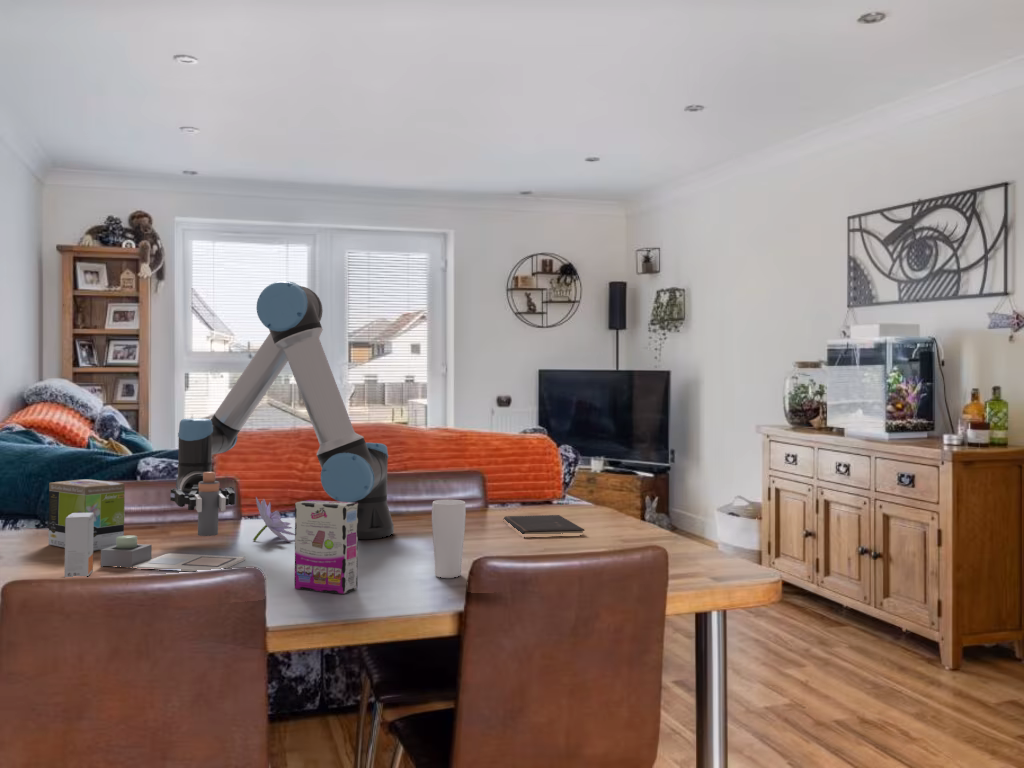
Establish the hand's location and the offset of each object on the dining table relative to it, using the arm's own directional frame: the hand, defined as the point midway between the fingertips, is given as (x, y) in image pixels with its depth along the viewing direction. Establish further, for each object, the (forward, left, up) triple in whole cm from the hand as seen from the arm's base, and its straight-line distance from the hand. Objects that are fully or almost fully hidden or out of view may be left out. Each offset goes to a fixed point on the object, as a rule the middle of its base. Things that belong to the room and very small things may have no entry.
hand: (211, 504), depth 176 cm
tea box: (+40, -17, -14) cm, 45 cm away
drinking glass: (-48, -5, -14) cm, 50 cm away
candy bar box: (-28, +10, -14) cm, 33 cm away
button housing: (+20, -1, -13) cm, 24 cm away
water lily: (+1, -32, -14) cm, 35 cm away
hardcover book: (-60, -62, -14) cm, 88 cm away
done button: (+20, -1, -10) cm, 22 cm away
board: (+7, -4, -13) cm, 15 cm away
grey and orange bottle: (+3, -4, -7) cm, 9 cm away
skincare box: (+23, +10, -14) cm, 28 cm away
